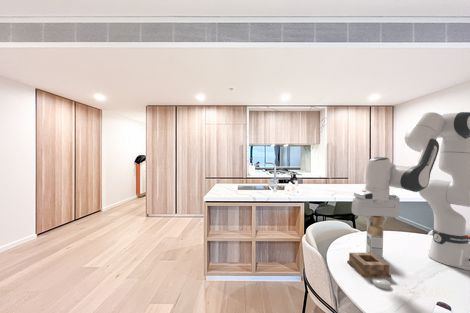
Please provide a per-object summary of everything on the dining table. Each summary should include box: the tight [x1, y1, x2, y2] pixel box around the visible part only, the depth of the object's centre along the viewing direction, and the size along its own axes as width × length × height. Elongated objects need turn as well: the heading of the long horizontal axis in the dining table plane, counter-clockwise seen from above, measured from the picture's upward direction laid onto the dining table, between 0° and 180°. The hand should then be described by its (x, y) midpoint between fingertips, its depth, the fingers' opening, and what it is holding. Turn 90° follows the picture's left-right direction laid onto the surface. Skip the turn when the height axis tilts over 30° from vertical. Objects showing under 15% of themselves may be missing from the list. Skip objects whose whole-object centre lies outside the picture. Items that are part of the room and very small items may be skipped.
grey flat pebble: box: [371, 277, 391, 290], centre depth 87 cm, size 6×6×2 cm
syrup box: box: [365, 225, 384, 259], centre depth 112 cm, size 6×6×14 cm
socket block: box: [347, 252, 392, 278], centre depth 98 cm, size 12×12×5 cm
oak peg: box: [366, 216, 384, 236], centre depth 96 cm, size 4×4×8 cm
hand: (374, 225), depth 97 cm, fingers closed on oak peg, 4 cm apart
